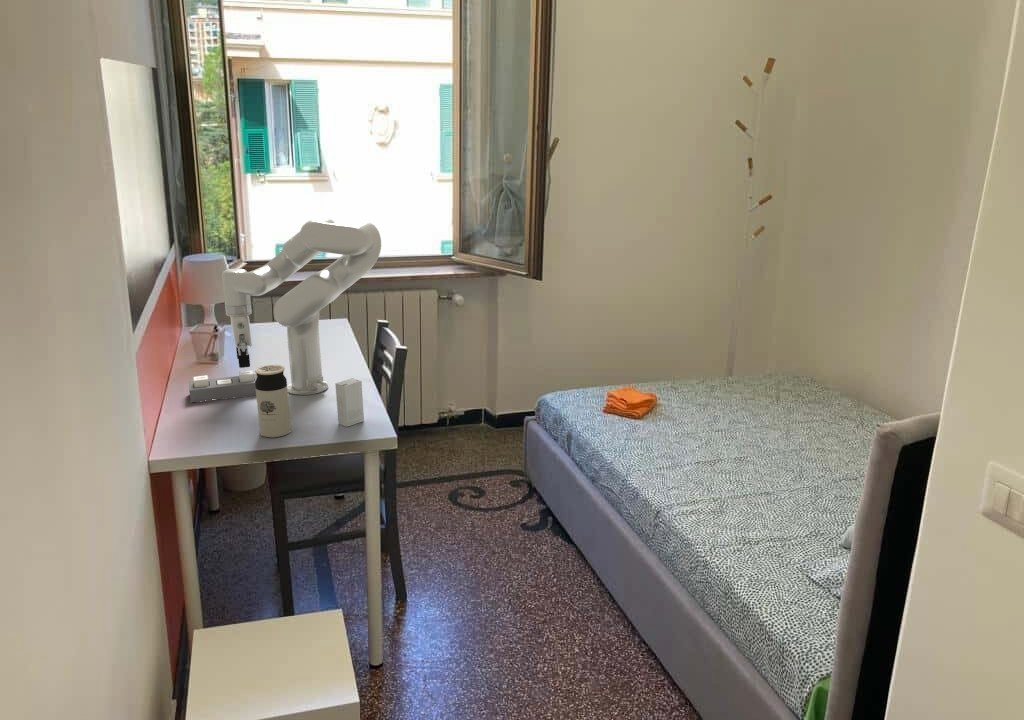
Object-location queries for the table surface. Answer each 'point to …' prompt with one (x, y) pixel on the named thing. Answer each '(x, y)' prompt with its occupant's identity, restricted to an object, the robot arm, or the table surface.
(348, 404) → the skincare box
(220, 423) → the table surface
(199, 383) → the button
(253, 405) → the table surface
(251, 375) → the button
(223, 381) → the middle button
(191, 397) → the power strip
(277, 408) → the travel mug
